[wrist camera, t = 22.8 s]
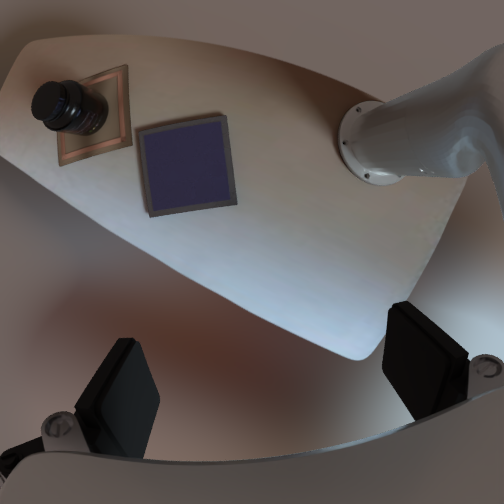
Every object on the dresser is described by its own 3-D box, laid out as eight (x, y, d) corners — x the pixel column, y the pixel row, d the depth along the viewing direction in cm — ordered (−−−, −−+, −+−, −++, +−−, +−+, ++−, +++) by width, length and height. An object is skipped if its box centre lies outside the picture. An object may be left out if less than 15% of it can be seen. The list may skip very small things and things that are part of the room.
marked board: (128, 65, 32) (126, 64, 32) (132, 145, 36) (131, 145, 35) (58, 91, 32) (56, 90, 32) (60, 166, 35) (58, 166, 35)
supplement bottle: (66, 116, 33) (18, 103, 22) (97, 85, 32) (55, 61, 21) (85, 146, 35) (36, 140, 23) (118, 114, 34) (76, 95, 22)
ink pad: (226, 117, 35) (226, 114, 34) (237, 203, 38) (237, 204, 37) (141, 132, 35) (137, 131, 34) (152, 216, 38) (149, 218, 37)
